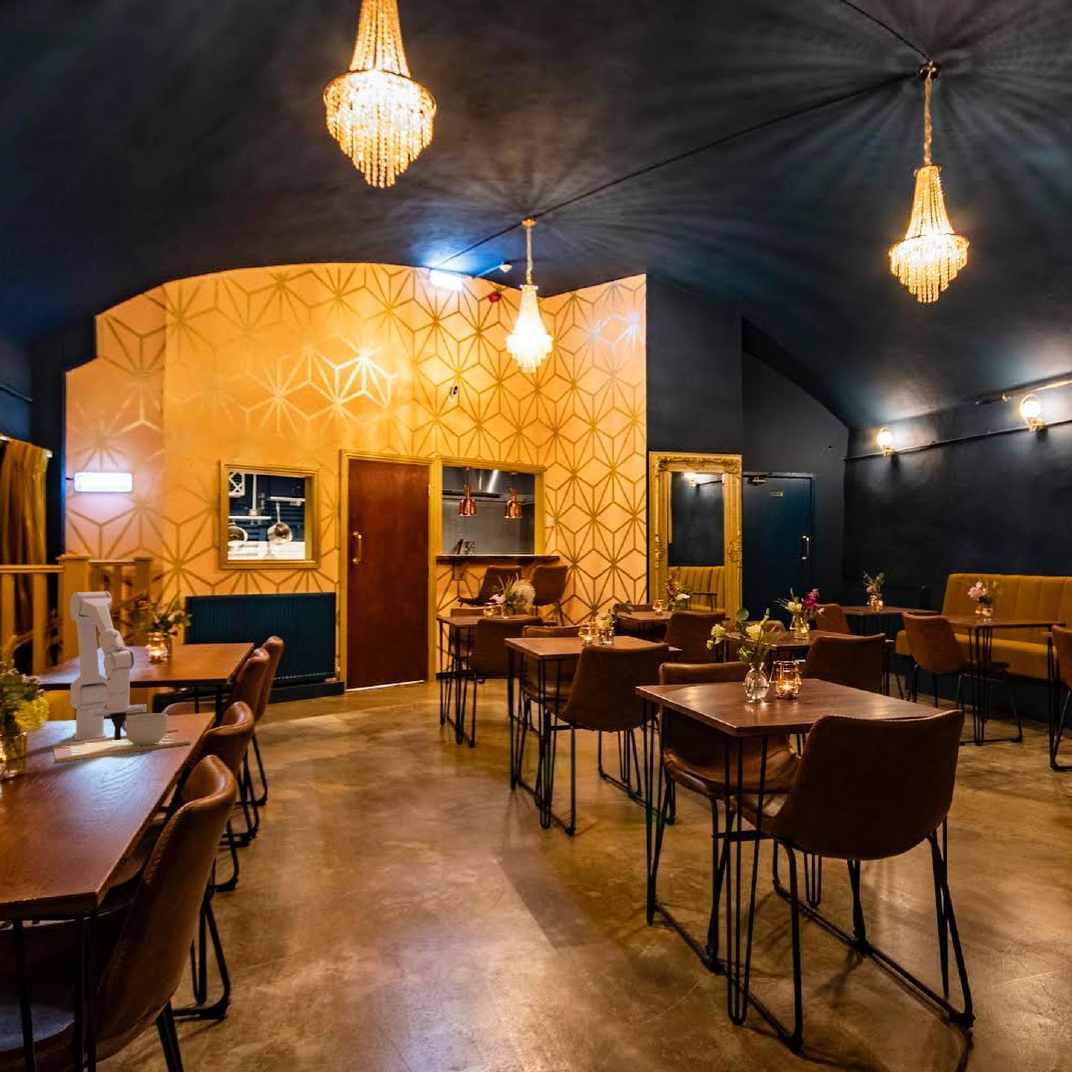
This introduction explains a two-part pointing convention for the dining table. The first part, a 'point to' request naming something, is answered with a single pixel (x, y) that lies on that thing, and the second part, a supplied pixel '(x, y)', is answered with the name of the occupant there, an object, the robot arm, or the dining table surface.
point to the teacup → (145, 728)
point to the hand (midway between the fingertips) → (117, 739)
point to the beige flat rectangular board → (103, 751)
